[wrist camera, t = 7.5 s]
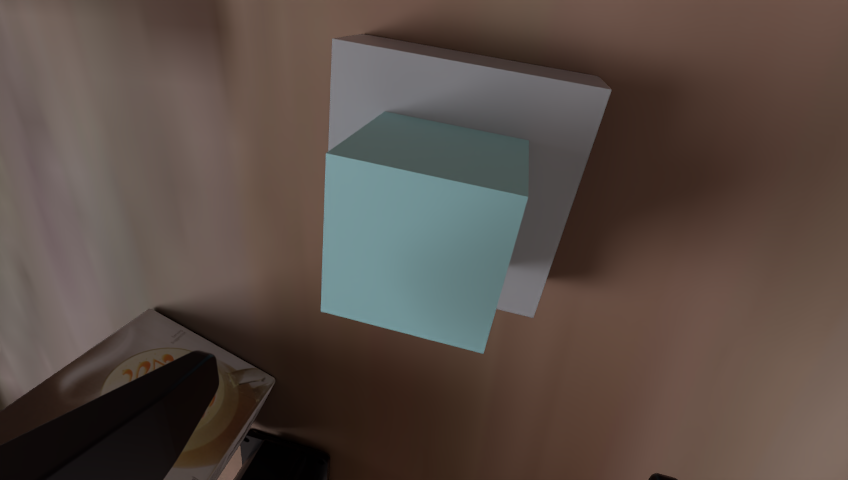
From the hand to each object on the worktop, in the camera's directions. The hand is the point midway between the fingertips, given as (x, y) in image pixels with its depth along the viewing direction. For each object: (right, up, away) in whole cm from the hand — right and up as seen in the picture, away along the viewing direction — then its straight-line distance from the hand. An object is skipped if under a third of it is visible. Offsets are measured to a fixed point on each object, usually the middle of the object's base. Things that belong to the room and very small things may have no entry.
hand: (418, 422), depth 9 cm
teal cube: (+1, +5, +7) cm, 9 cm away
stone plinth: (+1, +7, +10) cm, 12 cm away
